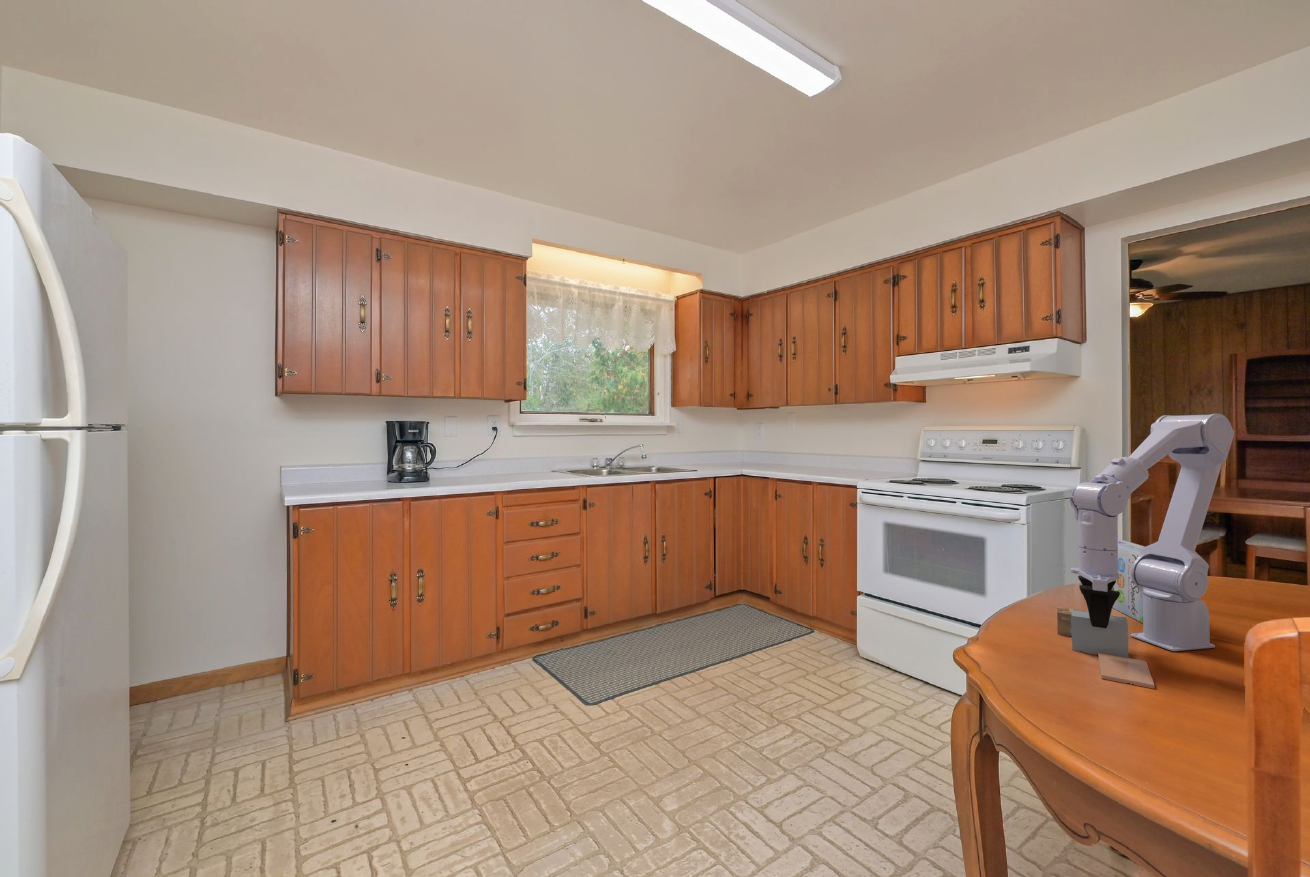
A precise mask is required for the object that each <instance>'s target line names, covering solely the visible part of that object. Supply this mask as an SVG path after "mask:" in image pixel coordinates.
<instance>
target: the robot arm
mask: <svg viewBox="0 0 1310 877" xmlns="http://www.w3.org/2000/svg"><path fill="white" fill-rule="evenodd" d="M1231 424H1232V423H1231V422H1230V421H1229V419H1228V418H1227V417H1226V416H1225V415H1224V414H1221V413H1212V414H1211V413H1210V414H1189V415H1185V414H1184V415H1171V414H1170V415H1169V414H1168V415H1167V414H1165V415H1164V414H1163V415H1161V416H1160V417H1158V418H1157V419H1156V420H1155V422H1153V423H1152V424H1151V426H1150V434H1149V435H1148V436H1147V437H1146V438H1145V439H1144V440H1143V442H1142V443H1141V444H1139V446H1138V447H1137V448H1136V449H1135V450H1134V451H1133V452H1132V453H1131V454H1130V455H1129V456H1120V457H1114V458H1113V459H1112V460H1111V461H1110V463H1109V465H1107V466H1106V467H1105V468H1104V469H1103V470H1101V471H1100V472H1099V473H1098V474H1096V475H1095V476H1094V477H1093V478H1092V479H1090V481H1085V482H1080V483H1079V484H1077V485H1075V487H1074V488H1073V489H1072V491H1071V496H1068V498H1069V503H1070V505H1071V507H1072V508H1073V510H1074V518H1075V519H1076V521H1077V522H1078V523H1077V524H1078V527H1077V531H1078V532H1077V534H1078V536H1077V538H1078V539H1077V541H1078V544H1077V545H1078V548H1077V550H1078V558H1077V559H1078V567H1070V572H1071V574H1077V575H1078V576H1077V577H1078V580H1079V582H1080V584H1079V586H1078V587H1079V591H1080V593H1081V594H1082V596H1083V598H1084V601H1085V603H1086V606H1087V610H1088V611H1087V612H1089V617H1090V621H1091V624H1092V626H1093V627H1099V628H1107V626H1108V623H1109V619H1110V615H1111V614H1112V611H1113V610H1112V609H1114V608H1113V605H1114V603H1115V601H1116V600H1117V599H1118V597H1119V596H1120V592H1119V591H1111V590H1112V588H1113V586H1114V585H1115V583H1116V580H1117V579H1119V573H1118V540H1119V534H1118V533H1119V532H1118V529H1119V526H1118V524H1119V518H1118V517H1119V515H1120V514H1122V513H1124V512H1125V510H1126V507H1127V504H1128V501H1129V499H1131V495H1132V493H1133V492H1134V491H1135V490H1137V489H1138V488H1139V487H1140V486H1141V485H1143V483H1144V482H1146V481H1147V480H1148V479H1149V476H1150V474H1149V470H1150V468H1151V467H1153V466H1155V465H1156V464H1157V463H1158V462H1159V461H1161V460H1163V459H1164V458H1166V457H1167V456H1168V457H1169V458H1170V459H1171V460H1172V461H1175V462H1177V463H1179V465H1180V471H1179V473H1178V477H1177V479H1176V483H1175V486H1174V490H1173V492H1172V493H1173V494H1172V496H1171V499H1170V502H1169V505H1168V509H1167V512H1166V516H1165V517H1164V522H1163V524H1162V528H1161V531H1160V534H1159V536H1158V541H1156V542H1154V543H1152V544H1149V545H1147V546H1144V548H1142V549H1141V552H1140V555H1139V557H1138V558H1137V559H1136V560H1135V561H1134V563H1133V564H1132V567H1131V578H1132V581H1133V582H1134V584H1135V585H1136V586H1138V587H1139V592H1142V593H1143V623H1142V628H1143V629H1142V632H1135V633H1131V634H1130V636H1131V637H1132V638H1135V639H1137V640H1139V641H1143V642H1146V643H1149V644H1152V645H1155V646H1158V647H1160V648H1163V649H1165V650H1169V651H1171V652H1181V651H1190V650H1191V651H1192V650H1203V649H1212V648H1215V647H1216V645H1215V644H1214V643H1210V634H1211V633H1210V630H1211V629H1210V612H1209V608H1208V606H1207V605H1206V603H1205V602H1204V601H1203V600H1202V599H1201V598H1202V597H1203V596H1204V595H1205V594H1206V592H1207V590H1208V588H1209V578H1208V571H1209V568H1210V565H1209V563H1208V562H1207V561H1206V560H1205V559H1204V558H1203V557H1202V556H1201V555H1200V554H1198V552H1196V549H1197V546H1198V542H1199V539H1200V536H1201V532H1202V529H1203V526H1204V523H1205V520H1206V517H1207V514H1208V511H1209V507H1210V505H1211V504H1210V503H1211V500H1212V497H1213V494H1214V491H1215V487H1216V485H1217V481H1218V479H1219V474H1220V473H1221V472H1220V471H1221V468H1222V466H1223V465H1222V464H1223V463H1225V462H1226V461H1227V459H1228V456H1229V452H1230V449H1231V447H1232V443H1233V440H1234V436H1235V431H1234V429H1233V427H1232V425H1231ZM1148 469H1149V470H1148ZM1168 561H1171V562H1168ZM1173 562H1176V563H1173ZM1178 563H1181V564H1178ZM1183 564H1185V565H1183ZM1111 616H1112V615H1111Z"/></svg>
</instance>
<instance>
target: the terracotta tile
mask: <svg viewBox="0 0 1310 877" xmlns="http://www.w3.org/2000/svg"><path fill="white" fill-rule="evenodd" d="M1097 657H1098V664H1099V670H1100V676H1101V679H1102V680H1108V681H1113V682H1118V683H1121V684H1122V683H1123V684H1127V683H1130V684H1129V685H1132V684H1134V686H1139V687H1144V688H1148V689H1153V690H1155V683H1154V680H1153V677H1152V675H1151V671H1150V668H1149V666H1148V663H1147V661H1146V660H1143V659H1142V660H1141V659H1136V658H1130V657H1128V658H1125V657H1119V656H1113V655H1107V654H1102V653H1098V656H1097Z"/></svg>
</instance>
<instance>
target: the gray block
mask: <svg viewBox="0 0 1310 877" xmlns="http://www.w3.org/2000/svg"><path fill="white" fill-rule="evenodd" d="M1074 650H1076V651H1075V652H1080V651H1083V652H1082V653H1087V654H1091V653H1093V655H1097V654H1098V653H1102V654H1107V655H1113V656H1119V657H1125V658H1129V622H1128V619H1127V617H1125V616H1124V617H1123V616H1117V615H1110V619H1109V623H1108V626H1107V628H1099V627H1093V626H1092V624H1091V621H1090V617H1089V612H1088V611H1085V612H1082V611H1075V610H1072V637H1071V651H1074Z"/></svg>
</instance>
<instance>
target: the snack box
mask: <svg viewBox="0 0 1310 877" xmlns="http://www.w3.org/2000/svg"><path fill="white" fill-rule="evenodd" d="M1144 547H1145V546H1144V545H1142V544H1141V545H1140V544H1137V543H1134V542H1131V541H1127V540H1123V539H1118V573H1119V579H1117V580H1116V583H1115V585H1114V586H1113V588H1112V590H1111V591H1119V592H1120V596H1119V597H1118V599H1117V600H1116V601H1115V603H1114V605H1113V608H1112V609H1114V610H1116V611H1118V612H1120V613H1122V614H1124V615H1126V616H1128V617H1129V618H1131V619H1133V620H1136V622H1139V623H1142V624H1143V593H1142V592H1139V587H1138V586H1136V585H1135V584H1134V582H1133V581H1132V578H1131V567H1132V564H1133V563H1134V561H1135V560H1136V559H1137V558H1138V557H1139V555H1140V552H1141V549H1142V548H1144ZM1168 562H1171V561H1168ZM1173 563H1176V562H1173ZM1178 564H1181V563H1178ZM1183 565H1185V564H1183Z"/></svg>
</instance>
